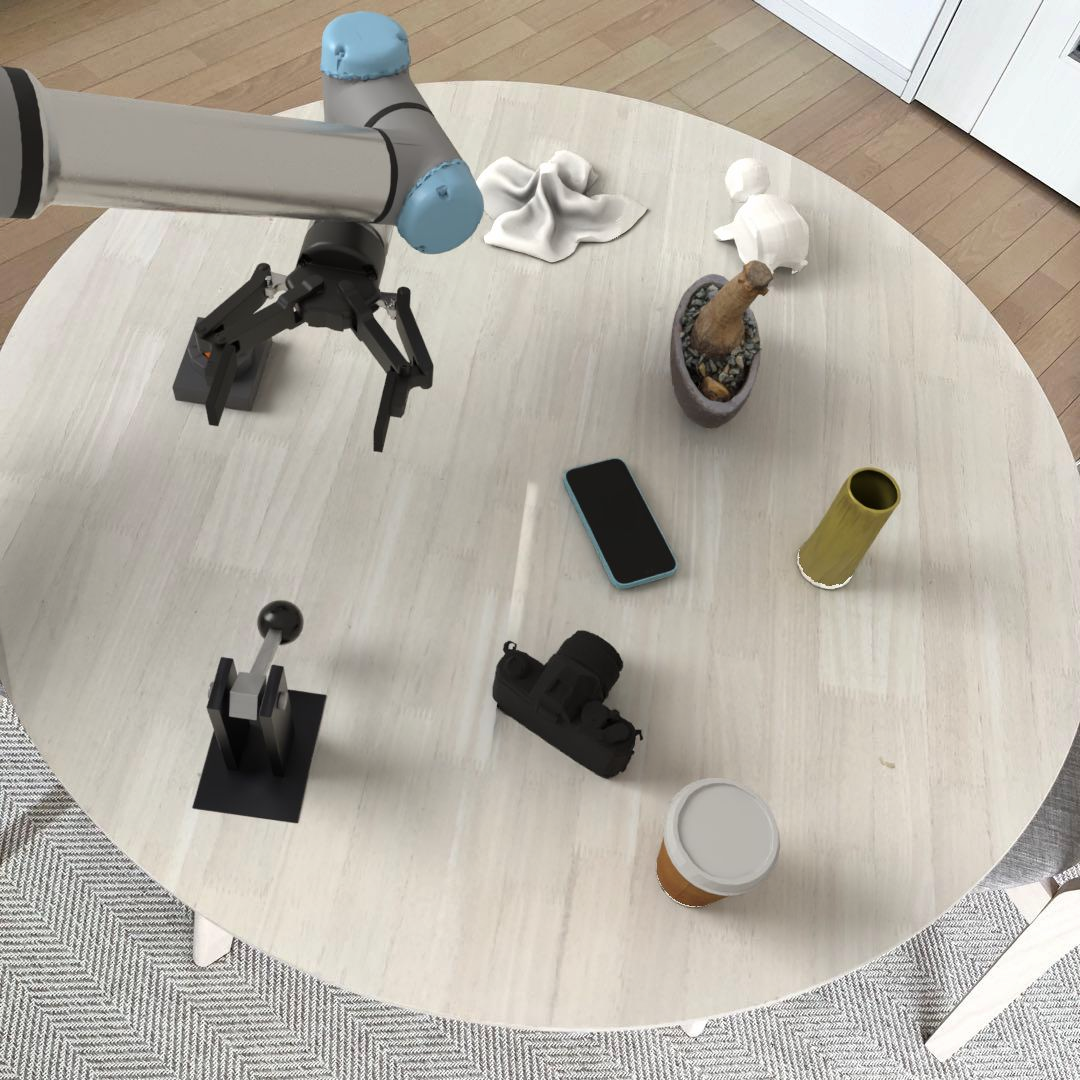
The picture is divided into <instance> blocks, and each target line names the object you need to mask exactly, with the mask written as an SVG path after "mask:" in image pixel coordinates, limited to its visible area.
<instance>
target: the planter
mask: <svg viewBox="0 0 1080 1080" xmlns="http://www.w3.org/2000/svg"><path fill="white" fill-rule="evenodd" d="M773 280H775V278H774V274H773V275H772V273H771V271H770V269H769V268H768V267H767V265H766V264H764V263H762V262H759V261H757V260H753V261H750V262H749V263H747V264H744V265H743V269H742V271H740V272H739V273H737V274H736V275H735V276H734V277H732V279H730V280H728V279H727V278H726V277H725V276H724V275H720V274H717V273H710V274H706V275H704V276H702V277H700V278H699V279H697V280H695V281H694V283H693V284H692V285H690V286H689V287H688V288H687V289H686V291H684V293H683V295H682V296H681V298H680V300H679V303H678V306H677V307H676V310H675V313H674V317H673V322H672V326H671V327H672V328H671V334H670V335H671V336H670V348H669V364H670V376H671V378H670V379H671V384H672V388H673V392H674V395H675V398H676V400H677V402H678V404H679V406H680V407H681V409H682V411H683V412H684V414H685V415H686V416H687V417H688V419H690V420H691V421H692V422H693V423H695V424H697V425H698V426H701V427H702V428H704V429H708V430H713V429H717V428H719V427H722V426H723V425H724V426H725V424H727V423H729V422H730V421H732V419H734V418H735V417H736V416H737V415H738V414H739V413H740V412H741V410H742V408H743V407H744V406H745V405H746V402H747V401H748V399H749V397H750V395H751V393H752V391H753V389H754V386H755V383H756V380H757V377H758V373H759V370H760V362H761V350H762V347H761V337H760V331H759V324H758V321H757V320H756V317H755V314H754V311H753V310H752V309H751V307H750V306H751V305H752V304H753V302H754V301H755V300H756V298H757V297H758V296H759V295H760V296H762V297H765V296H766V295H767V294H768V292H769V291H770V290H769V288H768V287H769V285H770V284H771V282H772V281H773ZM695 383H698V384H697V385H696V384H695Z"/></svg>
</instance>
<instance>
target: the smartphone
mask: <svg viewBox="0 0 1080 1080" xmlns="http://www.w3.org/2000/svg"><path fill="white" fill-rule="evenodd" d="M563 484H564V487H565V489H566V491H567V493H568V495H569V497H570V499H571V501H572V503H573V505H574V508H575V509H576V511H577V513H578V515H579V517H580V520H581V522H582V524H583V527H584V528H585V530H586V532H587V534H588V536H589V539H590V540H591V543H592V545H593V547H594V549H595V551H596V553H597V555H598V557H599V559H600V562H601V564H602V565H603V567H604V570H605V572H606V574H607V576H608V578H609V581H610V582H611V584H612V585H613V586H614V587H615V588H617V589H619V590H628V589H630V588H634V587H637V586H641V585H643V584H647V583H650V582H653V581H657V580H658V581H659V580H660V579H664V578H668V577H671V576H673V575H674V574H675V573H676V571H677V568H678V561H677V558H676V556H675V554H674V552H673V550H672V549H671V546H670V544H669V543H668V541H667V539H666V537H665V535H664V533H663V531H662V530H661V528H660V526H659V524H658V522H657V520H656V518H655V515H654V514H653V512H652V510H651V508H650V507H649V505H648V503H647V500H646V499H645V497H644V495H643V492H642V491H641V489H640V487H639V485H638V483H637V481H636V479H635V477H634V476H633V474H632V472H631V470H630V468H629V465H628V464H627V463H626V460H625V461H624V459H622V458H620V457H610V458H607V459H603V460H599V461H595V462H592V463H587V464H584V465H580V466H576V467H572V468H569V469H567V470H566V471H565V472H564V475H563Z"/></svg>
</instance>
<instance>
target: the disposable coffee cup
mask: <svg viewBox="0 0 1080 1080" xmlns="http://www.w3.org/2000/svg"><path fill="white" fill-rule="evenodd" d="M662 832H663V833H662V834H663V838H662V842H661V844H660V845H661V846H660V847H659V852H658V856H657V858H658V859H656V862H657V874H656V876H657V875H658V878H659V881H660V883H661V885H662V887H663V888H664V890H665V891H666V892H667V893H668V894H669V896H671V897H672V898H673V899H675V900H676V901H678V902H680V903H682V904H685V905H689V906H696V907H697V906H704V907H706V906H705V905H707V906H708V904H709V905H711V904H713V903H715V902H718V901H720V900H723V899H724V898H727V897H731V896H740V895H743V894H746V893H749V892H752V891H753V890H755V889H757V888H759V887H760V886H762V884H764V883H765V882H766V881H767V880H768V878H769V877H770V876H771V874H772V873H773V872H774V870H775V868H776V865H777V862H778V860H779V855H780V849H781V842H780V831H779V828H778V824H777V821H776V818H775V816H774V813H773V811H772V809H771V808H770V806H769V805H768V803H767V802H766V801H765V800H764V798H763V797H762V796H761V795H759V793H758V792H757V791H755V790H754V789H753V788H751V787H749V786H747V785H746V784H745V783H742V782H739V781H736V780H733V779H727V778H721V777H708V778H701V779H698V780H696V781H693V782H691V783H689V784H687V785H685V786H684V787H683V788H682V789H680V790H679V791H678V792H677V793H676V794H675V796H674V797H673V798H672V799H671V801H670V803H669V805H668V807H667V808H666V812H665V815H664V819H663V825H662ZM697 908H698V907H697Z"/></svg>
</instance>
